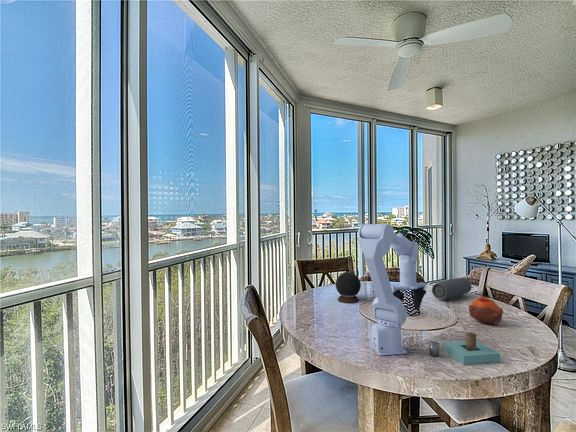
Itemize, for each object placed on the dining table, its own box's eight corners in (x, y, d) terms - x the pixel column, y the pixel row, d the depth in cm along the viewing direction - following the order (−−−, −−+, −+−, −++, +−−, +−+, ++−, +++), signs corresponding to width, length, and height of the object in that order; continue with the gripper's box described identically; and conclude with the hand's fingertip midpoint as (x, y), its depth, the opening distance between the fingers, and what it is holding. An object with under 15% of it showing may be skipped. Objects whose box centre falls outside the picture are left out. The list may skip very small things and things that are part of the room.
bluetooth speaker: (455, 293, 171) (455, 275, 171) (472, 296, 163) (472, 278, 163) (430, 299, 160) (430, 280, 160) (447, 303, 152) (447, 284, 151)
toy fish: (466, 323, 125) (465, 295, 125) (472, 316, 132) (471, 290, 132) (501, 330, 116) (500, 300, 116) (505, 322, 124) (505, 295, 124)
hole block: (463, 364, 91) (463, 356, 91) (443, 349, 101) (442, 342, 101) (500, 361, 92) (499, 353, 92) (476, 347, 102) (476, 340, 102)
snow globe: (363, 303, 155) (363, 274, 155) (337, 304, 155) (337, 275, 155) (358, 296, 168) (357, 269, 168) (334, 297, 168) (333, 270, 168)
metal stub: (432, 357, 96) (432, 345, 96) (427, 353, 99) (427, 341, 99) (441, 357, 96) (441, 344, 96) (435, 352, 99) (435, 340, 99)
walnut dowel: (469, 358, 95) (468, 336, 95) (463, 353, 98) (463, 332, 98) (478, 357, 95) (478, 335, 95) (472, 353, 98) (472, 332, 98)
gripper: (397, 276, 108) (398, 314, 108) (431, 273, 112) (432, 310, 112) (386, 273, 114) (387, 308, 114) (418, 270, 118) (419, 304, 118)
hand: (408, 309), depth 113 cm, fingers open, 7 cm apart
